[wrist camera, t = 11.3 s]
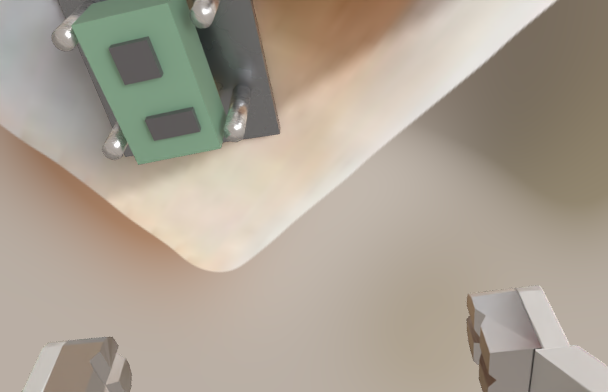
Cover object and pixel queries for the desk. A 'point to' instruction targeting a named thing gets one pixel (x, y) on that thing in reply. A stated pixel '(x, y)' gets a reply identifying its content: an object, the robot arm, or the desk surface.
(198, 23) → the chassis
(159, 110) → the green rectangular block
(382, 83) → the desk surface
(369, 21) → the desk surface
